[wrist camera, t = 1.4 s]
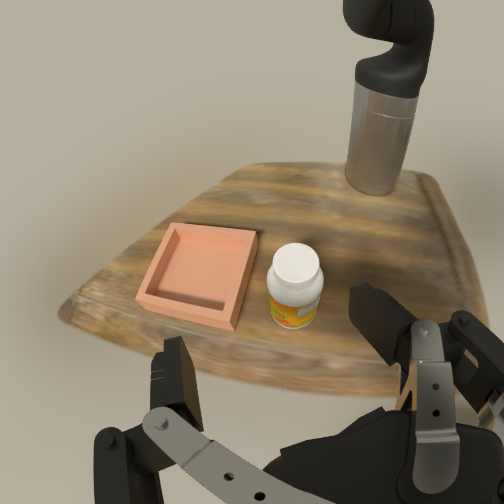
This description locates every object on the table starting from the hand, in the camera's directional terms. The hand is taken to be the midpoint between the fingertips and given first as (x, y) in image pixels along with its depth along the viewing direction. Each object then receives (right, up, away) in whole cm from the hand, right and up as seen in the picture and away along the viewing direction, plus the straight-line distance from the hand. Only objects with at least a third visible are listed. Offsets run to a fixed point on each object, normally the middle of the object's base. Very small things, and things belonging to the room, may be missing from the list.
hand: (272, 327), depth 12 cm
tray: (-7, 0, +23) cm, 24 cm away
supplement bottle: (+4, -3, +19) cm, 20 cm away
